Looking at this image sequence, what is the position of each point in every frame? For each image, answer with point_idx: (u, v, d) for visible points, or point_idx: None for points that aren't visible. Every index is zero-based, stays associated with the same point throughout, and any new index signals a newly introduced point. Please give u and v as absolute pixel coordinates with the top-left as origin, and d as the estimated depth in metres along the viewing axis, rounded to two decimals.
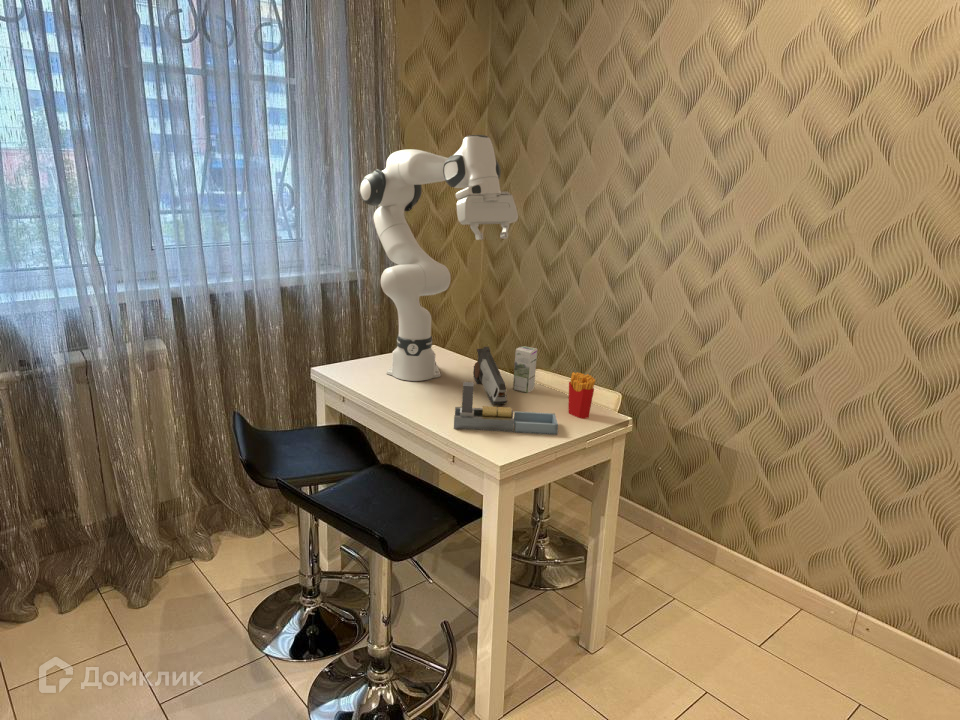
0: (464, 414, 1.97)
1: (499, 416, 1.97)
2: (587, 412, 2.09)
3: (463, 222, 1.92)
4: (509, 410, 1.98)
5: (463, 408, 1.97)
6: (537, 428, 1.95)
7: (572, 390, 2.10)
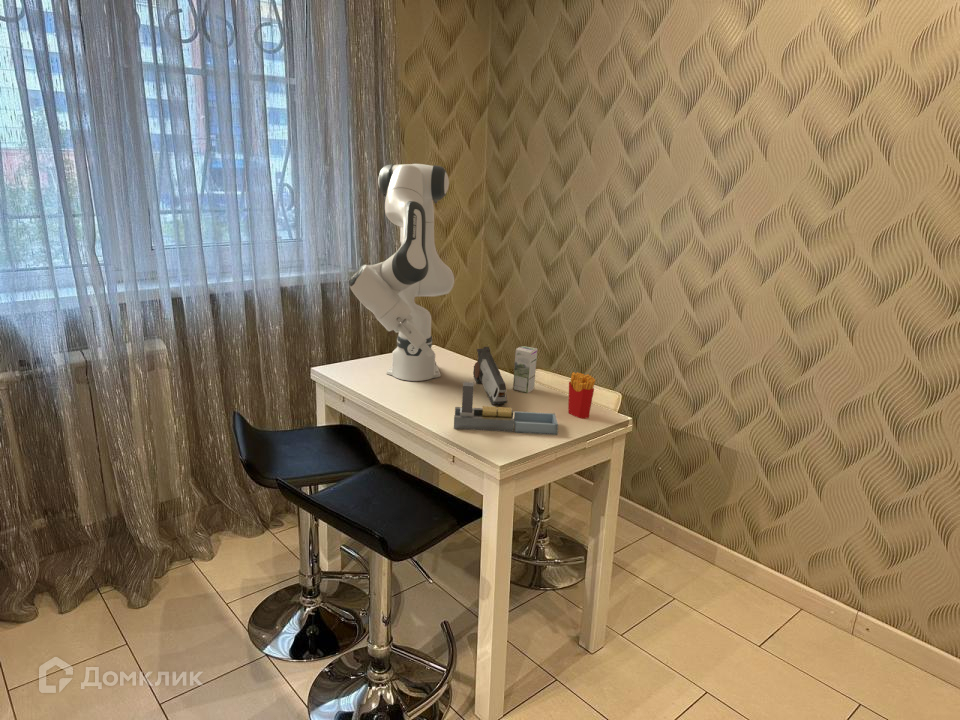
0: (464, 414, 1.97)
1: (499, 416, 1.97)
2: (587, 412, 2.09)
3: None
4: (509, 410, 1.98)
5: (463, 408, 1.97)
6: (537, 428, 1.95)
7: (572, 390, 2.10)
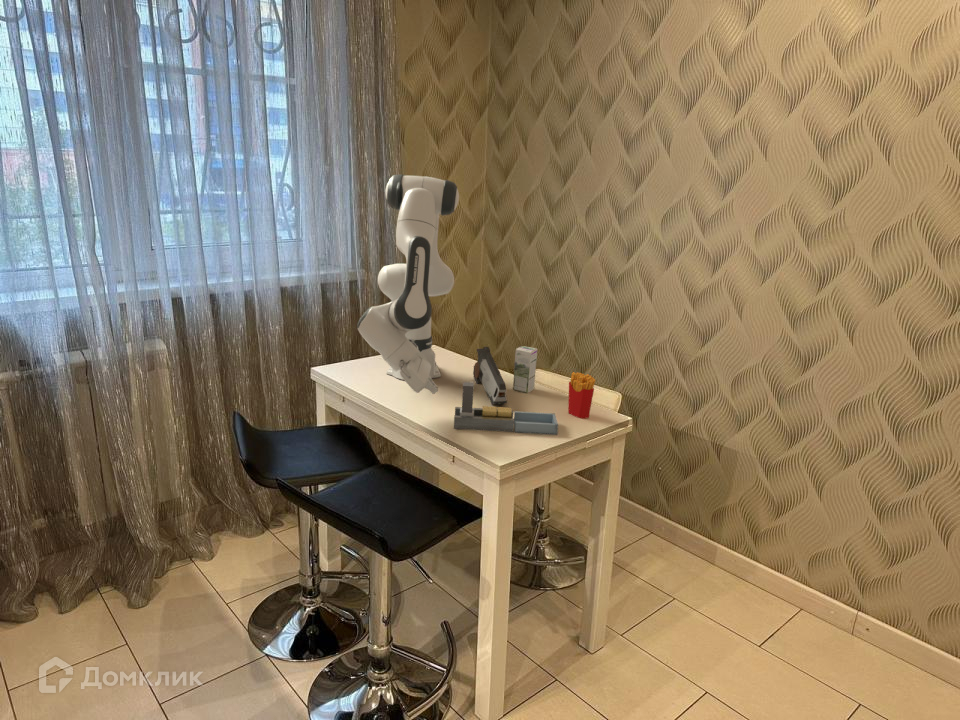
0: (464, 414, 1.97)
1: (499, 416, 1.97)
2: (587, 412, 2.09)
3: None
4: (509, 410, 1.98)
5: (463, 408, 1.97)
6: (537, 428, 1.95)
7: (572, 390, 2.10)
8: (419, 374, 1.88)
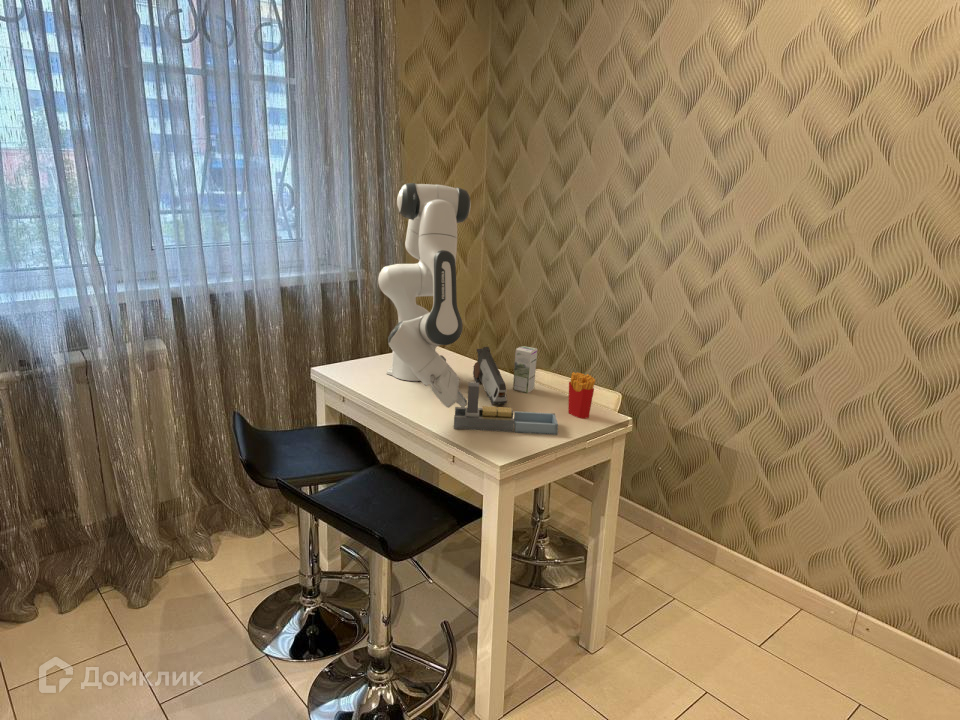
0: (469, 414, 1.97)
1: (499, 416, 1.97)
2: (587, 412, 2.09)
3: None
4: (509, 410, 1.98)
5: (468, 408, 1.97)
6: (537, 428, 1.95)
7: (572, 390, 2.10)
8: (450, 388, 1.90)
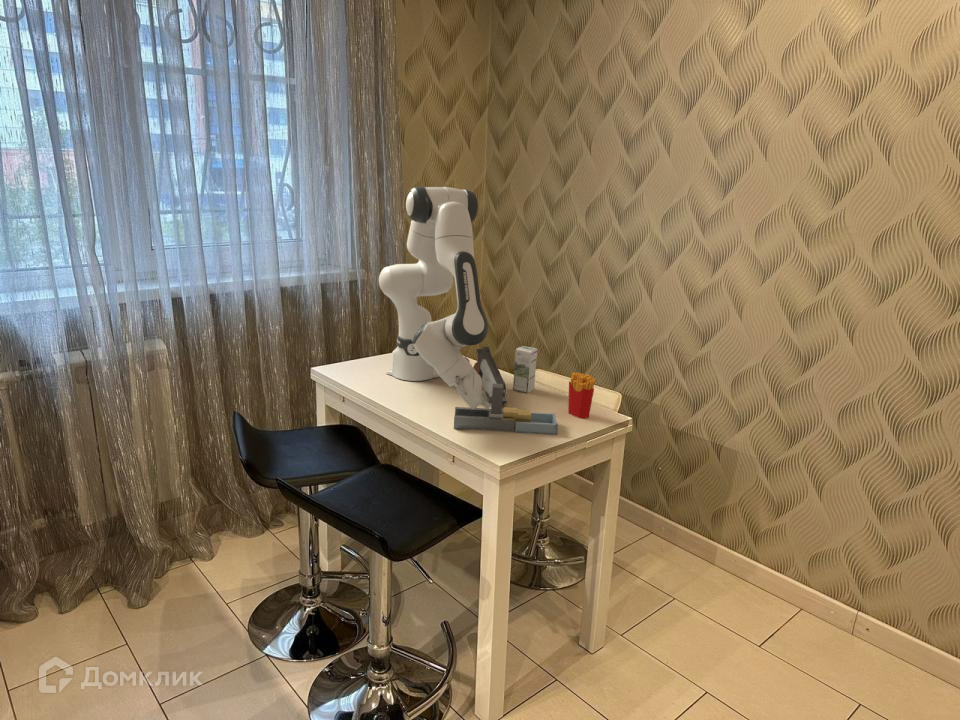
0: (493, 416, 1.97)
1: (519, 419, 1.97)
2: (587, 412, 2.09)
3: None
4: (528, 413, 1.99)
5: (493, 410, 1.97)
6: (537, 428, 1.95)
7: (572, 390, 2.10)
8: (475, 390, 1.90)
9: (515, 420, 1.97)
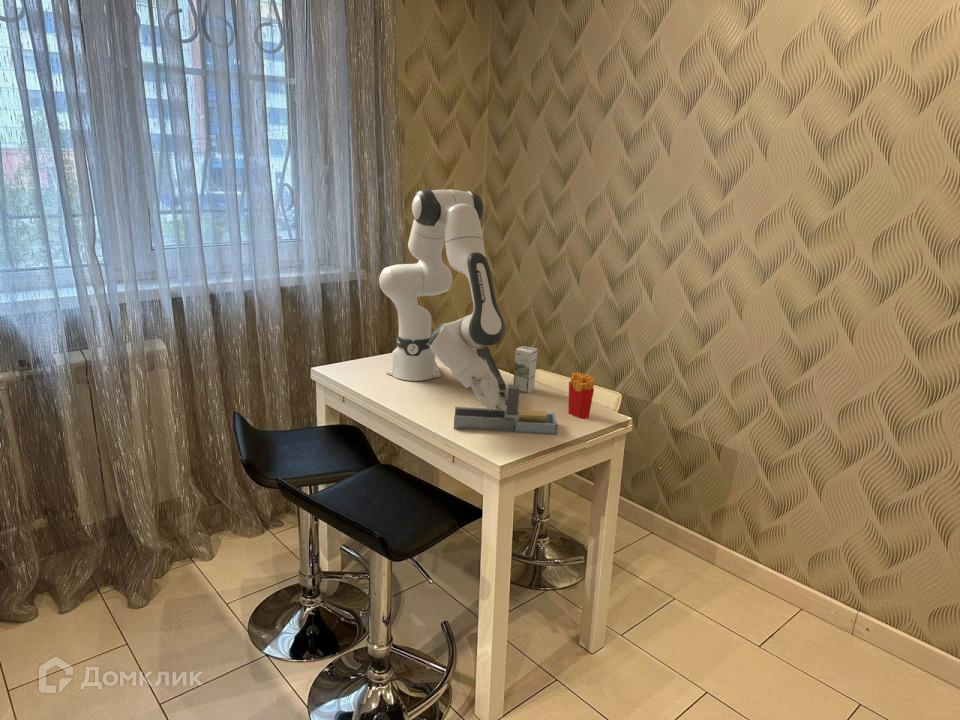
0: (509, 416, 1.97)
1: (534, 420, 1.97)
2: (587, 412, 2.09)
3: None
4: (544, 414, 1.99)
5: (508, 410, 1.97)
6: (537, 428, 1.95)
7: (572, 390, 2.10)
8: (491, 391, 1.90)
9: None
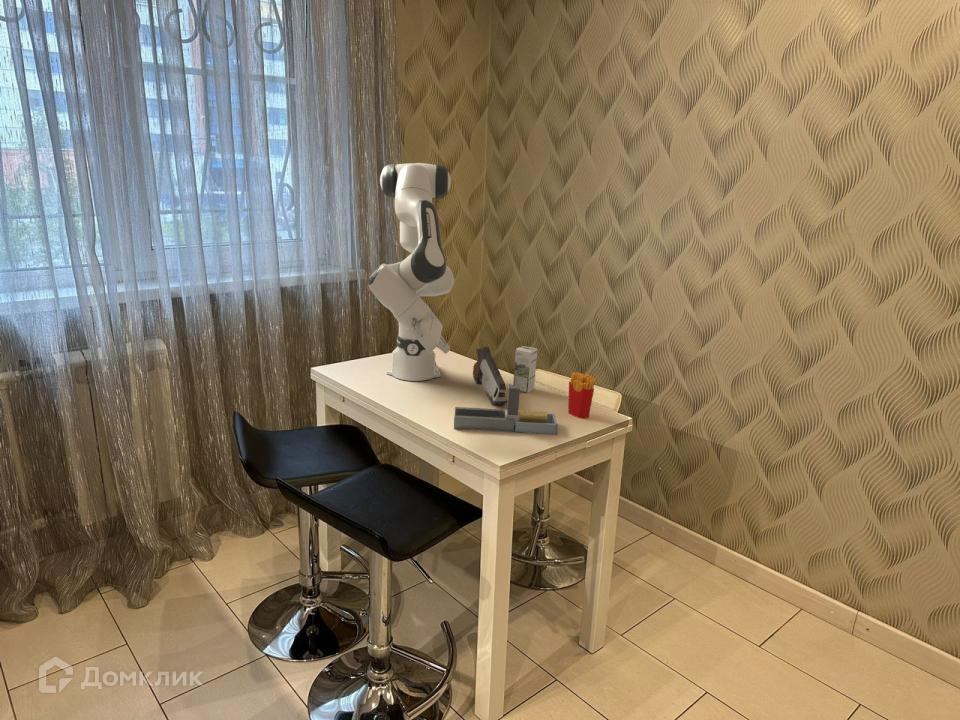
0: (510, 417, 1.97)
1: (535, 420, 1.97)
2: (587, 412, 2.09)
3: None
4: (545, 414, 1.99)
5: (509, 411, 1.97)
6: (537, 428, 1.95)
7: (572, 390, 2.10)
8: (431, 332, 1.85)
9: None
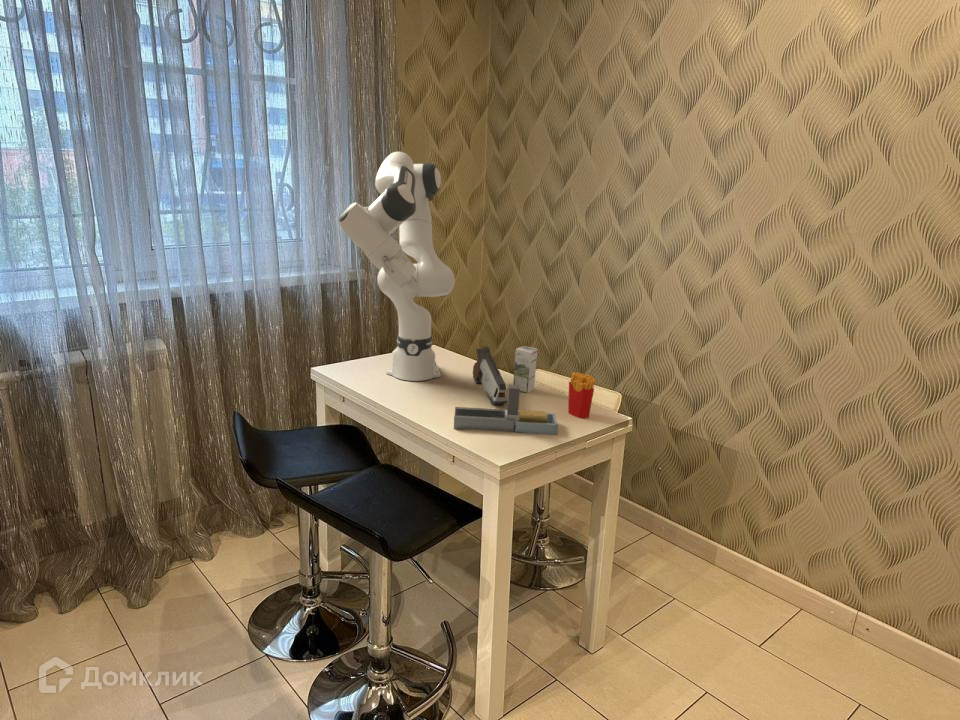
0: (510, 417, 1.97)
1: (535, 420, 1.97)
2: (587, 412, 2.09)
3: None
4: (545, 414, 1.99)
5: (509, 411, 1.97)
6: (537, 428, 1.95)
7: (572, 390, 2.10)
8: (402, 269, 1.85)
9: None
